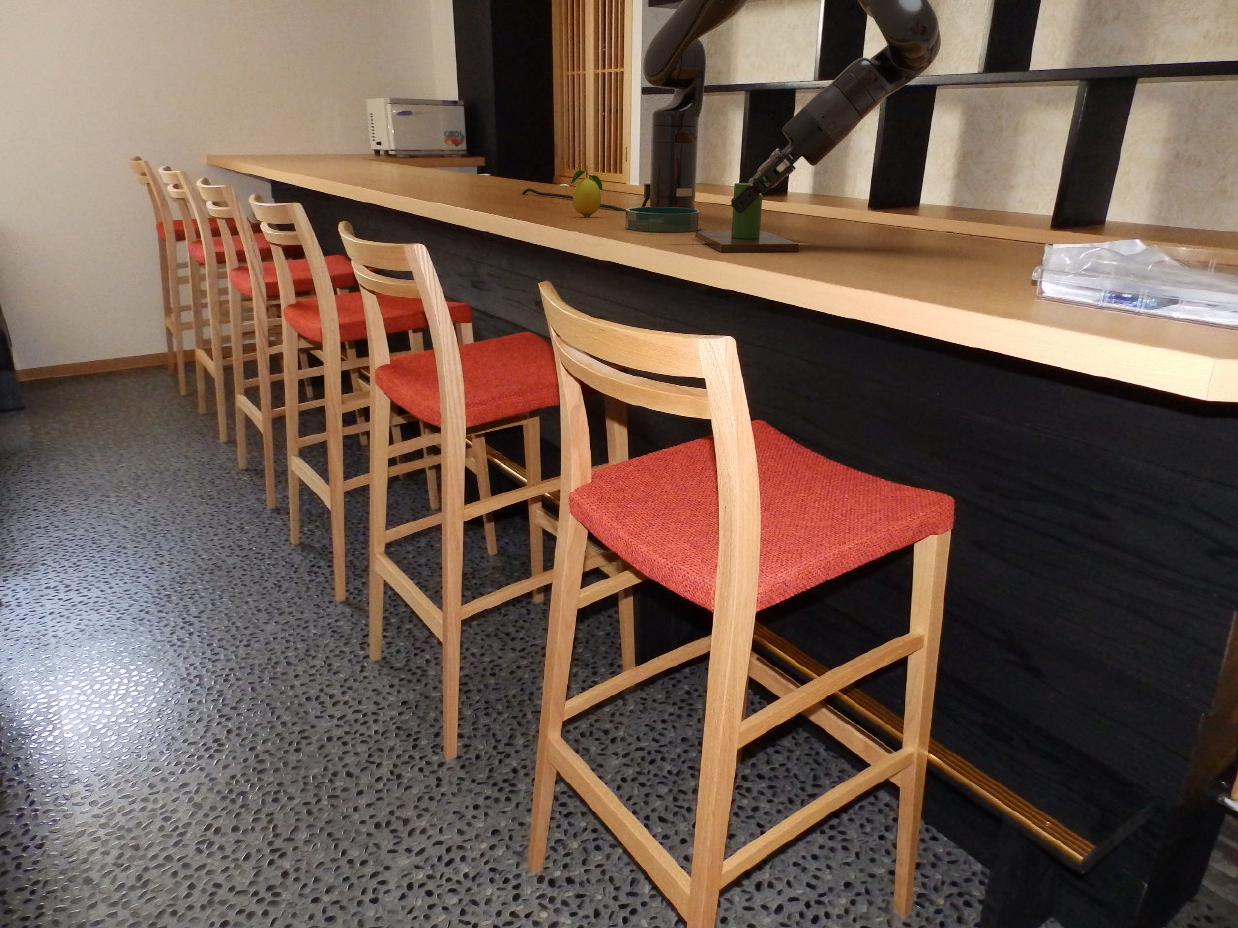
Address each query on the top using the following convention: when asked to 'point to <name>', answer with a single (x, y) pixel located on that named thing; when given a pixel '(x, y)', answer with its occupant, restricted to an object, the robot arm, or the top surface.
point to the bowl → (663, 219)
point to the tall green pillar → (746, 217)
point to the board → (747, 242)
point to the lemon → (587, 193)
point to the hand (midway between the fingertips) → (734, 207)
